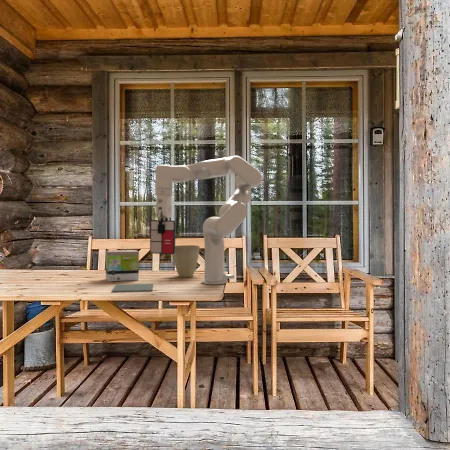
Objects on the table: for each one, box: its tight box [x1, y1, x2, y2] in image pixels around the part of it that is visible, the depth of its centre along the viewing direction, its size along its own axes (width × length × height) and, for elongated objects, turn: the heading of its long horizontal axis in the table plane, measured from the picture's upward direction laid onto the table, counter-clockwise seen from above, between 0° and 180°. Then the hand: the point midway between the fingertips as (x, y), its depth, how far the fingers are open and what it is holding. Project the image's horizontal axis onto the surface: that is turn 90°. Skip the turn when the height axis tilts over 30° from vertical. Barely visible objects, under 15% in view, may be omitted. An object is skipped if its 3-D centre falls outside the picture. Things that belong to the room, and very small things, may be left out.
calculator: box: [149, 219, 177, 255], centre depth 200 cm, size 11×4×15 cm, turn 86°
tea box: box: [105, 249, 140, 282], centre depth 222 cm, size 15×10×15 cm, turn 112°
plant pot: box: [172, 244, 201, 278], centre depth 233 cm, size 15×15×16 cm
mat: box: [111, 283, 154, 293], centre depth 197 cm, size 17×16×1 cm
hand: (162, 232), depth 199 cm, fingers closed on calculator, 4 cm apart
